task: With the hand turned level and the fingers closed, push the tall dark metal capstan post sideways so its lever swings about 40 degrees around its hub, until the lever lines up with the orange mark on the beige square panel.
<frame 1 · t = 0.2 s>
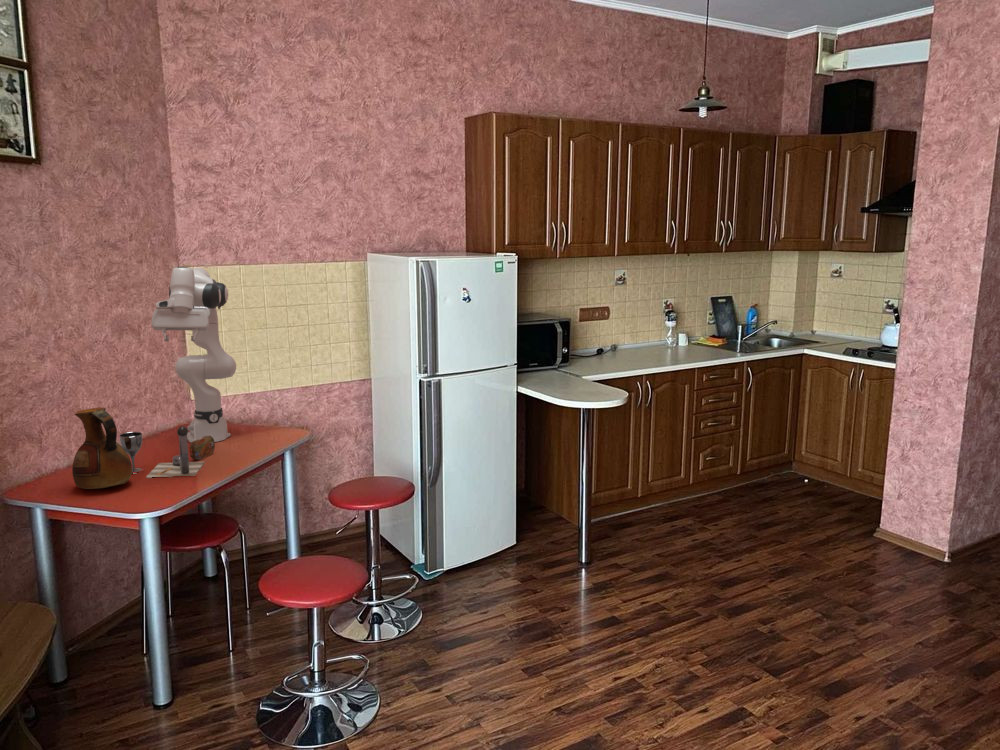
hand: (179, 340, 288), 53 cm above the table, tool tilted 25°, fingers open, 8 cm apart
tin: (202, 457, 324), on the table
silver goblet: (133, 471, 305), on the table
beige square panel: (180, 465, 313), on the table
ceramic pitcher: (104, 487, 286), on the table
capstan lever: (181, 444, 305), point 10 cm above the table, hinge at 20.0°
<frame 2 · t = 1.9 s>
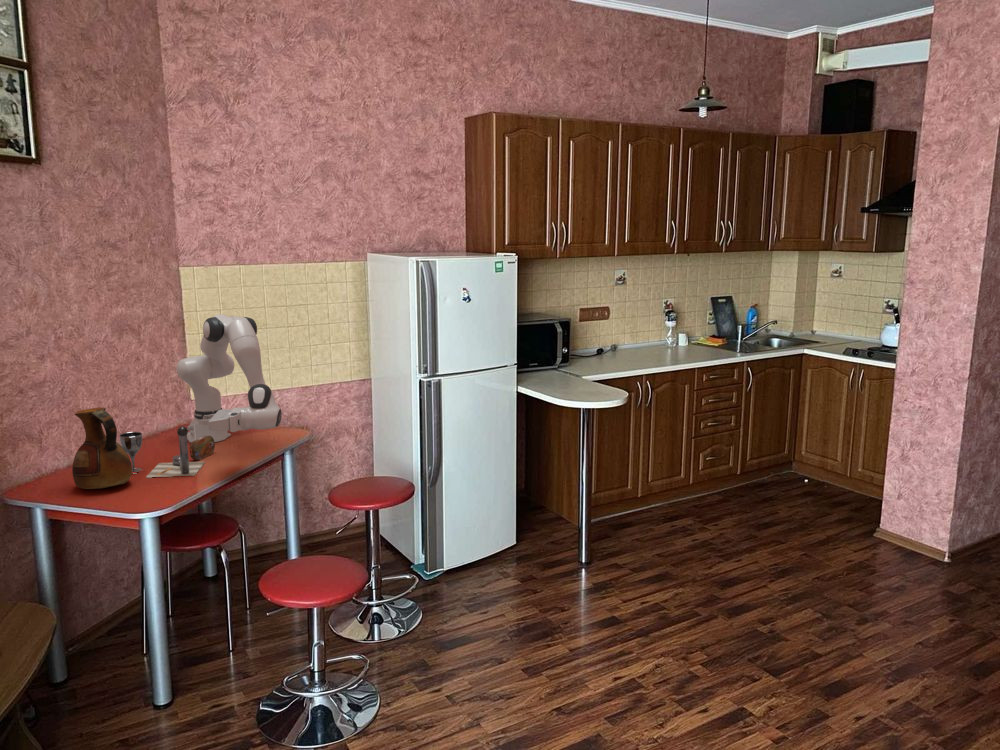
hand: (201, 419, 297), 22 cm above the table, tool horizontal, fingers open, 5 cm apart
nothing on the table moved.
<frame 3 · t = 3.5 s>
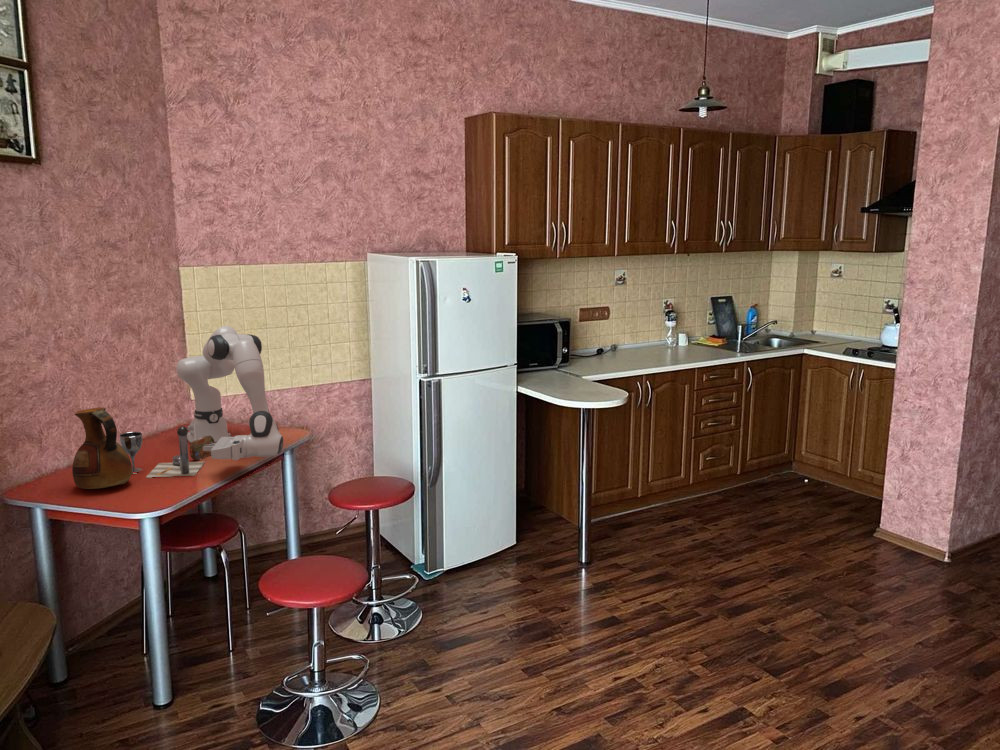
hand: (203, 447, 299), 11 cm above the table, tool horizontal, fingers closed
nothing on the table moved.
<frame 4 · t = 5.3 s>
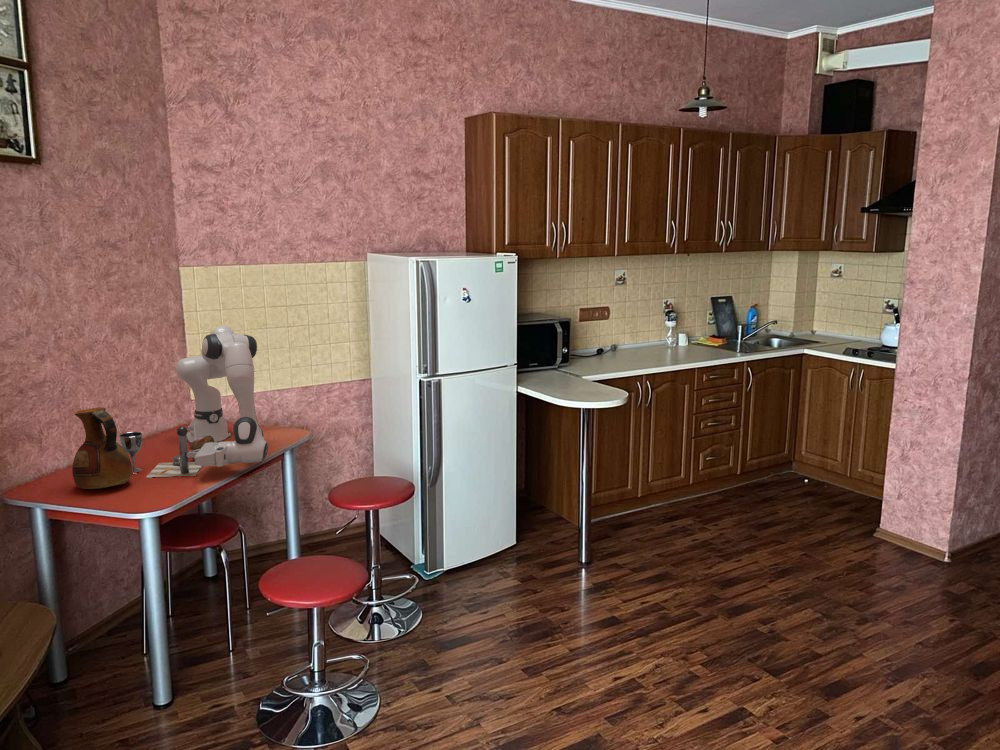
hand: (187, 454, 299), 8 cm above the table, tool horizontal, fingers closed, pressing on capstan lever
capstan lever: (181, 444, 305), point 10 cm above the table, hinge at 19.4°, touching gripper
everything else where it was.
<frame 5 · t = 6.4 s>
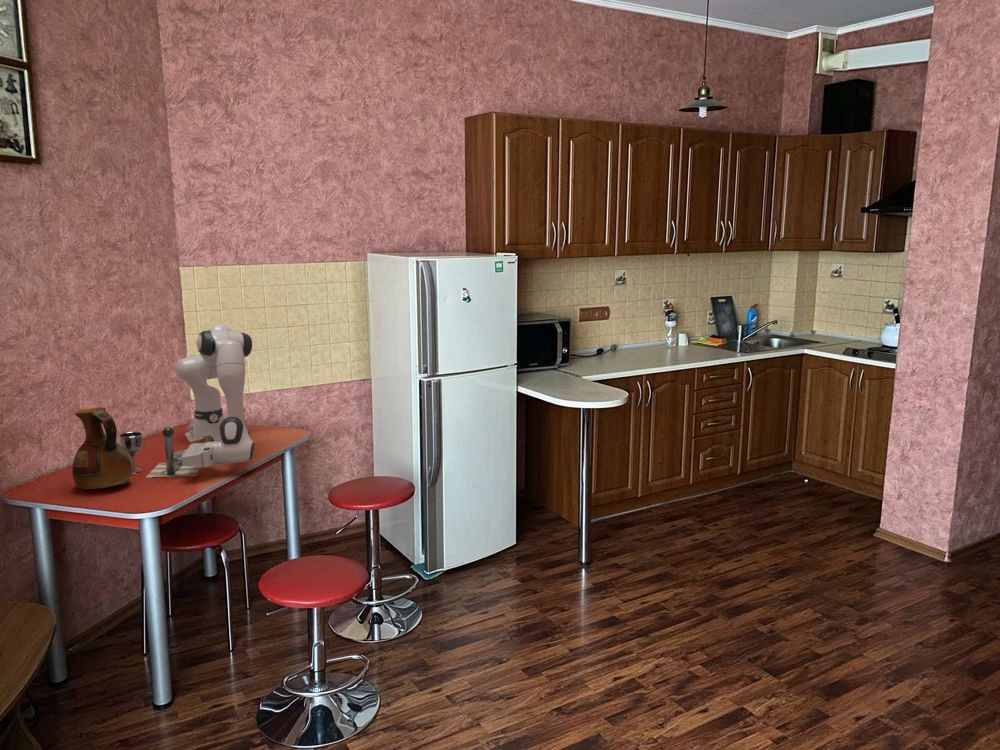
hand: (173, 455, 297), 8 cm above the table, tool horizontal, fingers closed, pressing on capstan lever
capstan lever: (174, 445, 304), point 10 cm above the table, hinge at -1.3°, touching gripper
everything else where it was.
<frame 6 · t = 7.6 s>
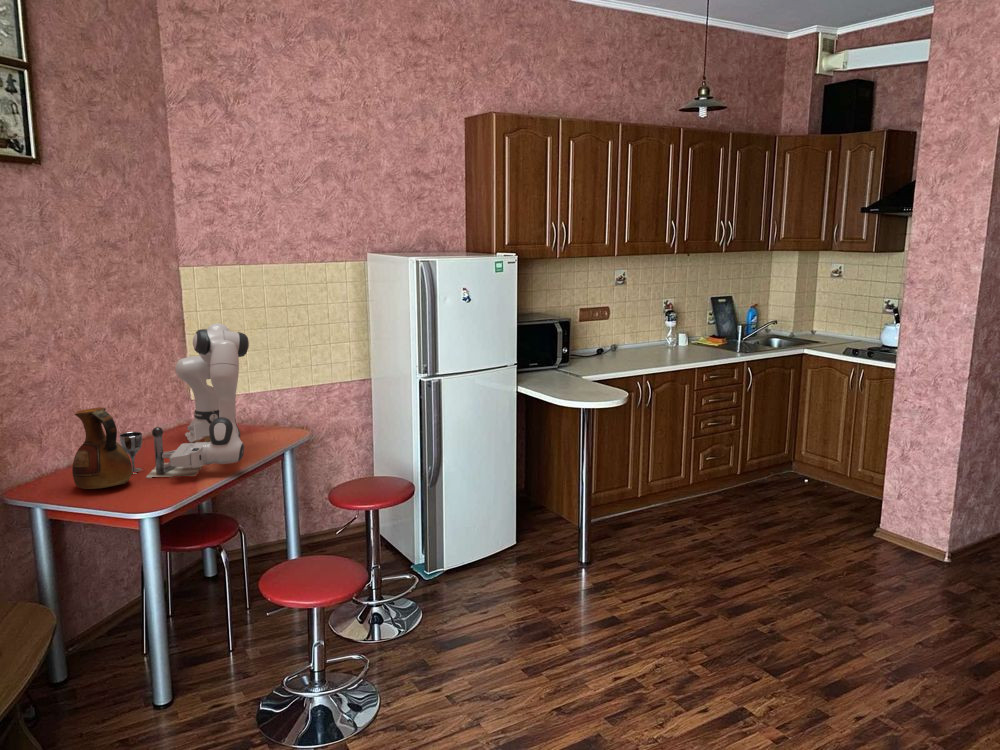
hand: (162, 455, 297), 8 cm above the table, tool horizontal, fingers closed
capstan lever: (170, 445, 304), point 10 cm above the table, hinge at -18.1°, touching gripper
everything else where it was.
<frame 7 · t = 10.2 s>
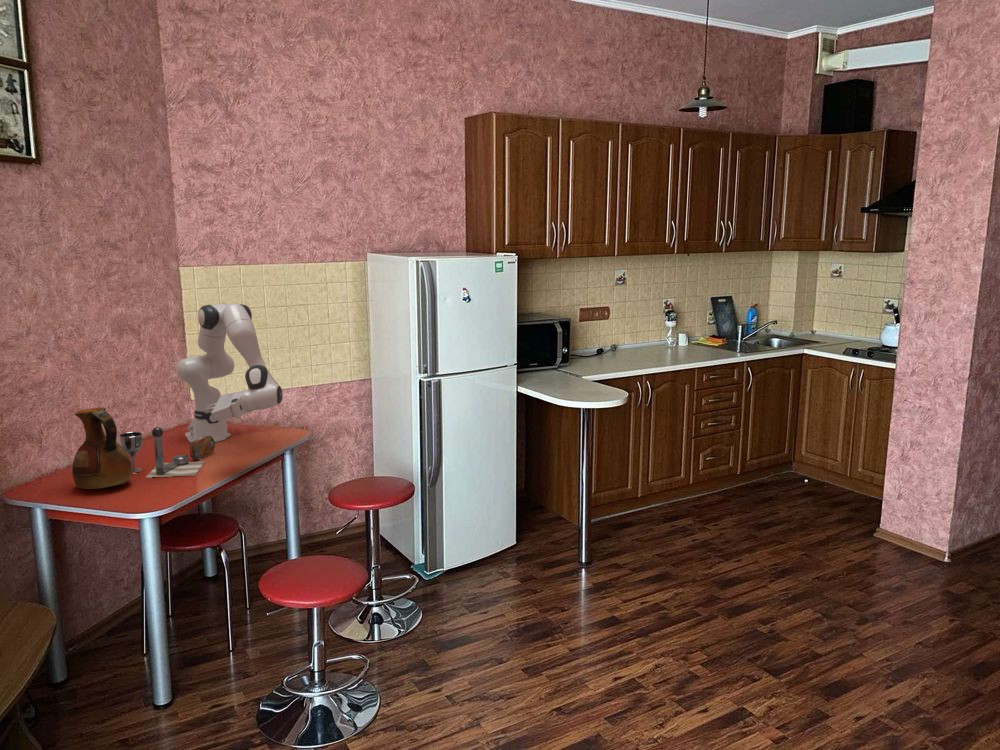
hand: (205, 410, 301), 25 cm above the table, tool horizontal, fingers closed
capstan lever: (170, 445, 304), point 10 cm above the table, hinge at -18.2°
everything else where it was.
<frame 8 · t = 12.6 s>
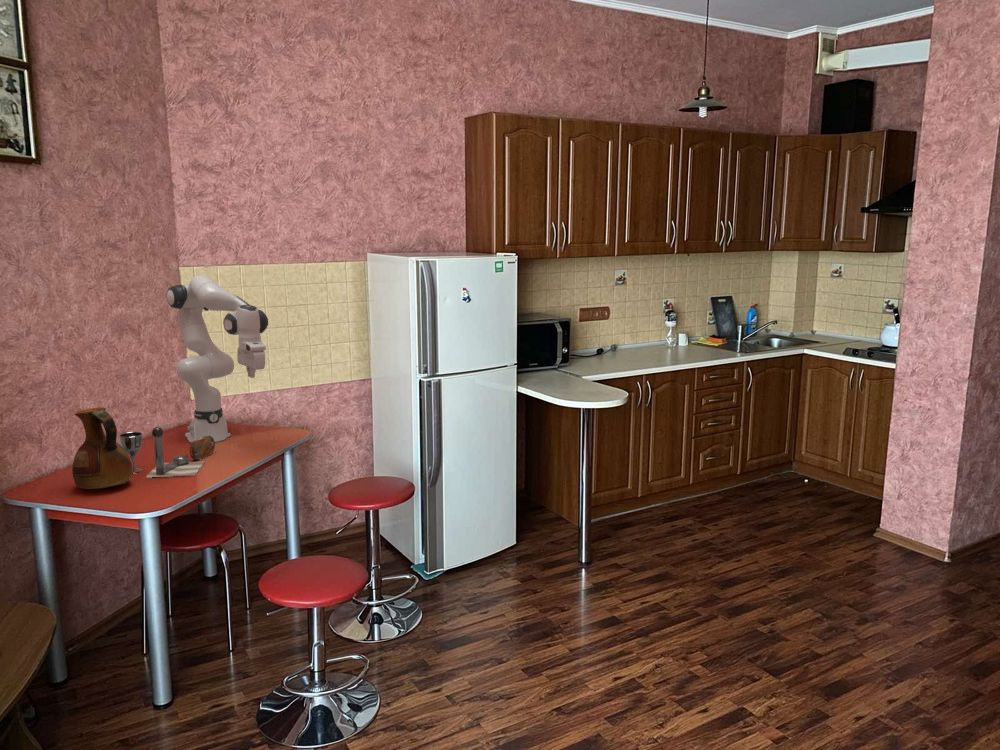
hand: (251, 377, 321), 34 cm above the table, tool pointing down, fingers closed
nothing on the table moved.
at the end: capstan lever at -18° (first picture: +20°); ceramic pitcher moved 0.2 cm from its start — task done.
